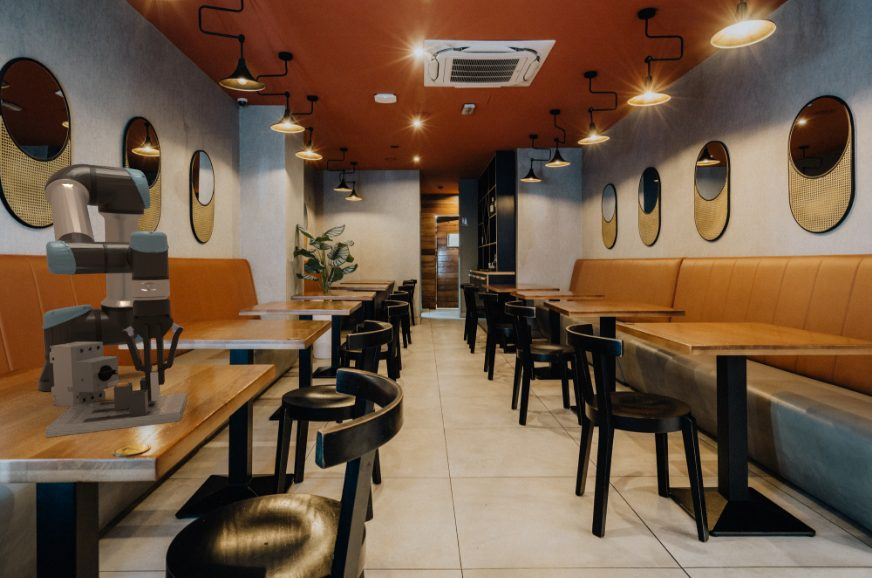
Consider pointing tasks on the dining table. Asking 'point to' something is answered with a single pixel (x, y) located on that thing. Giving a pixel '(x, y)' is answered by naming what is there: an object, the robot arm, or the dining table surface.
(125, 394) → the toggle
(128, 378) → the dining table surface
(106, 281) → the robot arm
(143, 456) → the dining table surface
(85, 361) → the circuit breaker
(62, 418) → the breaker panel
